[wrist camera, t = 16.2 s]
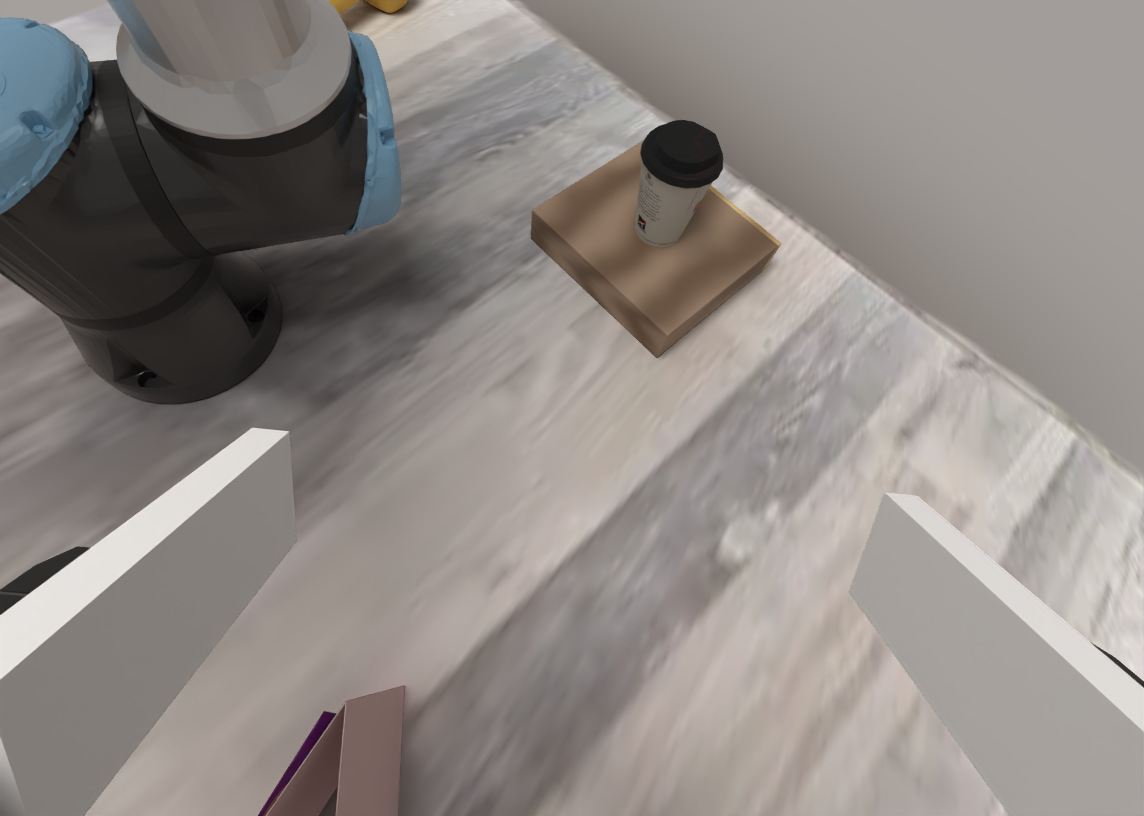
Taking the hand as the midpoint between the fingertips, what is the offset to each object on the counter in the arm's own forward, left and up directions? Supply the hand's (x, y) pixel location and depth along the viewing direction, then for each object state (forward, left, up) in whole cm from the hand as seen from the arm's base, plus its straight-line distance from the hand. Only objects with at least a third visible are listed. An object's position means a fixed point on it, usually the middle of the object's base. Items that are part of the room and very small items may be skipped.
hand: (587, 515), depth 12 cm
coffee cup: (-18, +31, -29) cm, 46 cm away
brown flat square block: (-18, +31, -33) cm, 49 cm away
